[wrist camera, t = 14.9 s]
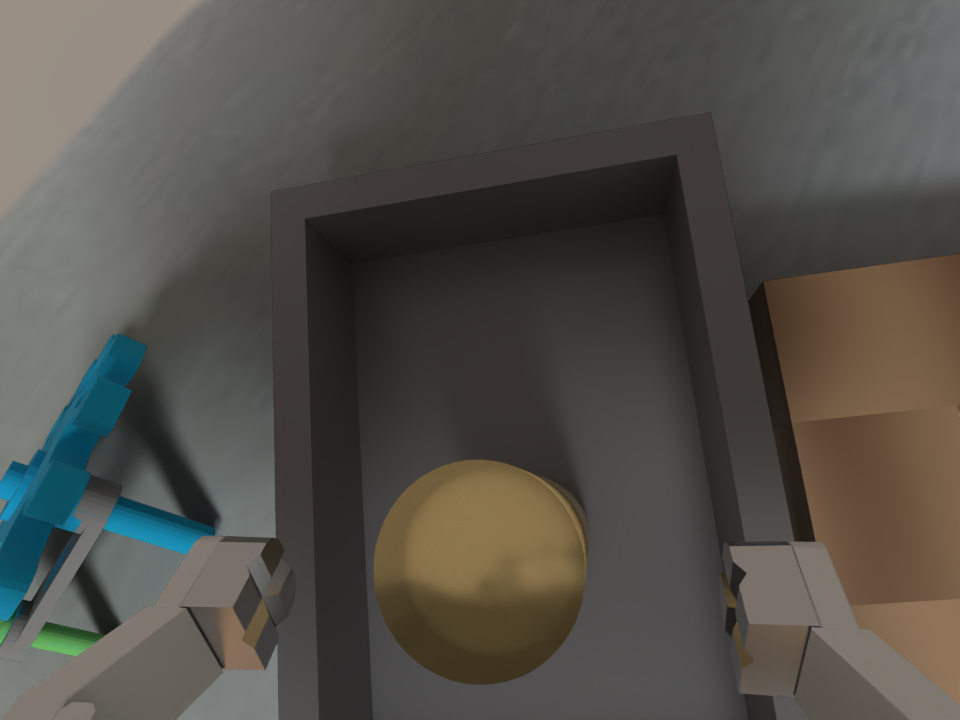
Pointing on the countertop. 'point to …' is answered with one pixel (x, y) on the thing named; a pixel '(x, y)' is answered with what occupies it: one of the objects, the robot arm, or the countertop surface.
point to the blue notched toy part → (72, 509)
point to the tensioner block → (874, 441)
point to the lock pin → (482, 570)
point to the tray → (524, 412)
